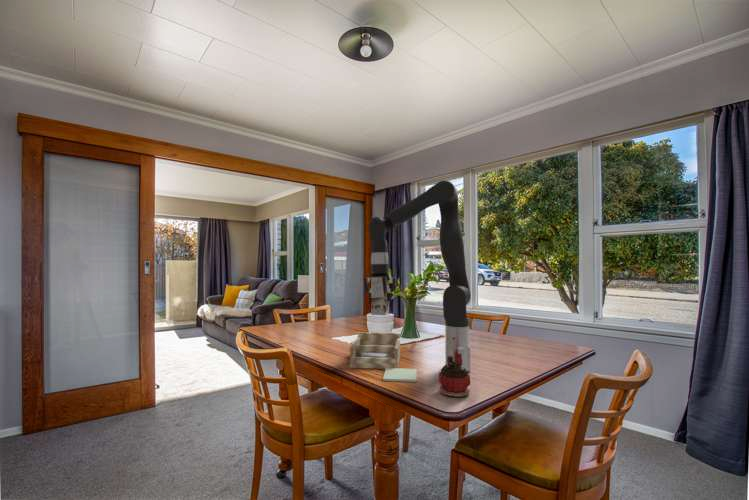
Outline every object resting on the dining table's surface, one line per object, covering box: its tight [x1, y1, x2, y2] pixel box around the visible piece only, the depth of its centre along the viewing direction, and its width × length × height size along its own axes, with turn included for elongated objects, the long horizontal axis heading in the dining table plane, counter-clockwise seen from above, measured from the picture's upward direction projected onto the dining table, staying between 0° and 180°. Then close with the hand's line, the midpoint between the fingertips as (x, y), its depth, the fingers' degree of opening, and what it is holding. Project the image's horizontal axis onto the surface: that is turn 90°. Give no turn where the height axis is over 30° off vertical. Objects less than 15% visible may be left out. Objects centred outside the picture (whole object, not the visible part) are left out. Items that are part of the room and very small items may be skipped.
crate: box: [349, 331, 401, 370], centre depth 152 cm, size 19×21×10 cm
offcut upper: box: [361, 352, 388, 358], centre depth 146 cm, size 10×4×2 cm, turn 68°
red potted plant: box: [438, 337, 471, 397], centre depth 115 cm, size 11×9×18 cm
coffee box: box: [370, 276, 390, 316], centre depth 155 cm, size 9×6×16 cm
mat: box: [382, 367, 418, 383], centre depth 133 cm, size 12×13×1 cm
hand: (380, 301), depth 155 cm, fingers closed on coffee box, 6 cm apart
